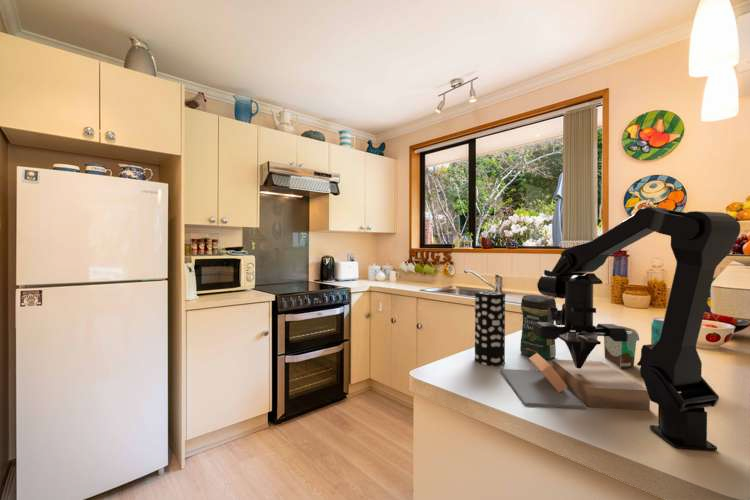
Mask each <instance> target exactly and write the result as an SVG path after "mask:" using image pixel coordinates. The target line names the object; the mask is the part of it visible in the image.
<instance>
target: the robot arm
mask: <svg viewBox="0 0 750 500" xmlns="http://www.w3.org/2000/svg"><path fill="white" fill-rule="evenodd" d="M654 232H656V233H658V234H661V235H665V236H668V237H670V248H671V251H672V253H673V255H674V259H675V261H676V262H675V263H676V266H675V270H674V274H673V279H672V282H671V287H670V290H669V291H670V292H669V295H668V301H667V305H666V309H665V314H664V317H663V318H664V322H663V326H662V330H661V335H660V338H659V340H658V342H657V343H656V344H651V343H649V344H643V345H642V346H641V349H640V350H641V351H640V359H639V361H638V362H637V363H636V365H637V366H639V374H640V378H642V379H643V383H644V385H645V388H646V389H647V392H648V395H649V398H650V402H652V403H655V404H657V405H658V407H657V408H658V414H657V415H658V416H657V417H658V419H657V421H658V422H657V424H658V425H654V424H650V425H649V429H650V430H651V431H653V432H654V433H655V434H657V435H658V436H659V437H661V438H662V439H663V440H665V441H666V442H667V443H668V444H670V445H671V446H672V447H674V448H675V449H676V448H677V449H687V450H688V449H689V450H704V451H718V447H717V446H716V445H715V444H714V443H712V442H710V441H709V440H708V412H707V411H706V410H705V409H706V408H709V407H710V408H712V407H713V408H714V407H716V405H717V403H718V401H719V400H720V395H718V394H717V392H716V391H715V390H714V389H713V388H712V386H711V385H709V383H708V382H707V381H706V380H705V379H704V377H702V371H703V370H702V364H703V363H702V360H701V358H700V355H699V352H698V350H697V343H698V339H699V335H700V331H701V328H702V324H703V323H702V322H703V319H704V316H705V311H706V307H707V305H708V304H707V303H708V299H709V296H710V291H711V288H712V283H713V280H714V276H715V272H716V270H717V267H718V266H719V265H720V264H721V262H723V260H724V259H726V257H727V256H728V255H729V254H730V252H731V251H732V249H733V247H734V246H735V244H736V242H737V240H738V237H739V236H740V233H741V224H740V222H739V221H738V220H737V219H736V217H734V216H732V215H731V214H729V213H726V212H721V211H720V212H719V211H699V210H698V211H695V210H694V211H692V210H691V211H687V212H685V211H677V210H673V209H672V210H671V209H667V208H665V207H660V206H659V207H658V206H656V207H655V206H646V207H645V206H644V207H641V208H640V209H638V210H637V211H635V213H634V214H633V215H631V216H629V217H628V218H626V219H624V220H623V221H621V222H619V223H618V224H616V225H615V226H613V227H612V228H610V229H608V230H607V231H604V233H602V234H600V235H599V236H597V237H595V238H594V239H592V240H590V241H587V242H584V243H578V244H574V245H573V246H570V247H568V248H565V249H564V250H563V251H561V253H560V257H559V259H558V261H557V263H556V264H555V266H554V267H553V269H544V271H543V275H540V278H539V280H538V282H537V283H536V285H537V290H538V292H539V293H540V294H541V295H542V296H545V297H550V298H555V299H556V298H558V299H562V300H563V299H564V303H562V305H561V310H559V309H558V307H557V306H556V307H549V308H548V311H547V316H548V320H549V321H554V324H552V323H551V322H536V323H535V324H534V326H533V333H534V334H536V335H537V336H538V337H540V338H542V339H555V340H557V339H560V340H561V341H563V342H564V343H565V345H566V347H567V349H568V351H569V353H570V355H571V360H573V362H574V364H575V367H576V368H581V367H582V366H583V364H584V362H585V361H587V359H588V357H589V355H590V354H591V353H592V352H593V350H594V349H595V348H596V346H598V345H601V343H602V342H601V341H600V340H598V337H604V336H609V337H610V338H611V339H612V340H613V341H622V342H627V341H628V333H627V331H626V330H625V329H624V328H622V327H623V326H622V327H619V326H620V325H617V324H614V323H598V324H597V325H594V313H595V314H597V308H596V307H594V285H602V284H603V280H602V279H601V278H599V276H597V275H596V273H594V272H596V271H597V270H598V269H599V268H601V267H602V266H603V265H605V263H606V260H607V259H608V258H609V257H610V256H611V255H614V254H616V253H617V252H619V251H621V250H622V249H625V248H627V247H629V246H631V245H632V244H635V243H636V242H638V241H640V240H641V239H643V238H645V237H647V236H649V235H651V234H653V233H654Z"/></svg>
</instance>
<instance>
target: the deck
mask: <svg viewBox="0 0 750 500" xmlns="http://www.w3.org/2000/svg"><path fill="white" fill-rule="evenodd" d="M551 364H552V365H551V366H552V367H553V369H554V370H555V371H556V372H557V374H558V375H559V376H560V378H561V379H562V380H563V381H564V383H565V384H566V385H567V386H568V387H567V388H566V389H567V390H569V391H570V392H571V393H572V394H573V395H574V396H575V397H576V398H577V399H578V400H579V401H581V402H582V403H583V404H584V405H585V406H587V407H589V408H604V409H605V408H606V409H622V410H623V409H626V410H627V409H629V410H644V411H645V410H646V411H647V410H648V411H650V410H651V409H650V408H651V400H650V398H649V395H648V392H647V389H646V386H643V385H642V384H640V383H638V382H637V381H635V380H633V379H632V378H630V377H628V376H627V375H625V374H624V373H621V372H620V371H618V370H617V369H615V368H614V367H611V366H610V365H608V364H606V363H605V362H603V361H602V360H601V361H600V360H586V361H585V362H584V364H583V366H582V367H581V368H576V367H575V364H574V362H573V359H555V358H552V363H551Z"/></svg>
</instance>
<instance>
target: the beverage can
mask: <svg viewBox="0 0 750 500" xmlns="http://www.w3.org/2000/svg"><path fill="white" fill-rule="evenodd" d="M652 320H653V321H652V322H651V323H650V325H651V326H650V327H651V329H650V330H651V332H650V334H651V335H650V337H651V338H650V344H656V343H657V342H658V340H659V338H660V335H661V330H662V326H663V322H664V317H652Z"/></svg>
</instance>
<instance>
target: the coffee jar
mask: <svg viewBox="0 0 750 500" xmlns="http://www.w3.org/2000/svg"><path fill="white" fill-rule="evenodd" d="M549 307H556V308H557V302H556V298H555V297H551V296H546V295H537V294H527V295H523V296H522V298H521V303H520V310H521V313H522V329H521V336H520V346H519V349H520V350H519V352H520V353H521V354H523V355H526V356H529V357H531V356H533V355H534V354H536V353H538V354H539V355H540V356H541V357H542V358H543V359H544V360H551V359H552V360H553V359H555V357H556V356H557V355H556V354H557V349H556V348H557V346H556V339H542V338H540V337H538V336H537V335H536V334H534V333H533V326H534V324H535V323H536V322H551V323H552V324H554V325H555V321H549V320H548V316H547V311H548V308H549Z"/></svg>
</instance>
